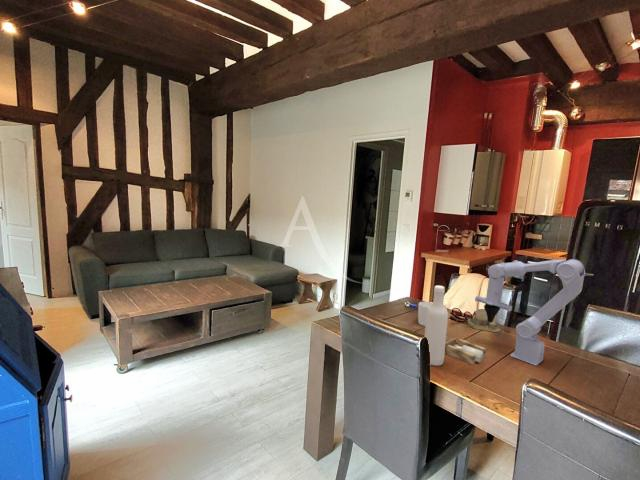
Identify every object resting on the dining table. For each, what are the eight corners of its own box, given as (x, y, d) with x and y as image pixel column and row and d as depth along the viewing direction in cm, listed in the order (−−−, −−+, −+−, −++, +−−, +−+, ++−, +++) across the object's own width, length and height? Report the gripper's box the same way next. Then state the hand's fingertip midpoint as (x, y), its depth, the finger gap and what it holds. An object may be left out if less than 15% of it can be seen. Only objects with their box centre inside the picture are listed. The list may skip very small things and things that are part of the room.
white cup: (413, 321, 167) (415, 302, 166) (425, 319, 171) (427, 301, 169) (424, 327, 160) (426, 308, 159) (436, 325, 163) (438, 306, 162)
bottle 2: (482, 349, 128) (455, 339, 135) (478, 359, 126) (451, 349, 134) (484, 354, 131) (457, 344, 138) (480, 364, 129) (453, 354, 136)
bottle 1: (445, 367, 124) (452, 290, 120) (423, 364, 126) (430, 288, 121) (441, 357, 132) (448, 284, 127) (421, 354, 134) (427, 282, 129)
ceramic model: (494, 324, 168) (496, 305, 166) (503, 333, 157) (505, 313, 155) (465, 321, 170) (467, 303, 168) (471, 330, 159) (474, 310, 157)
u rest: (485, 356, 133) (486, 348, 133) (472, 364, 127) (473, 356, 126) (452, 343, 144) (453, 336, 144) (439, 350, 137) (440, 342, 137)
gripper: (473, 288, 144) (469, 317, 146) (509, 298, 133) (504, 329, 135) (480, 285, 148) (476, 314, 151) (515, 295, 137) (511, 325, 140)
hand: (490, 321), depth 143 cm, fingers closed
